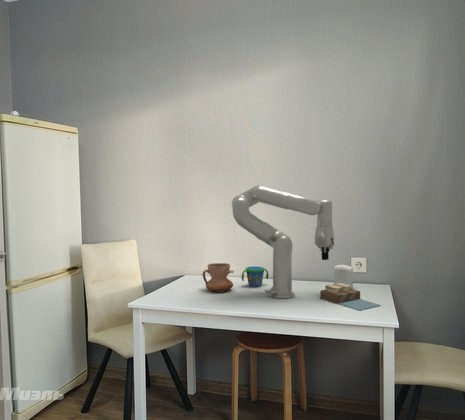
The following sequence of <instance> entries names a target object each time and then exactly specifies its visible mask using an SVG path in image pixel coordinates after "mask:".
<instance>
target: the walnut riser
mask: <svg viewBox="0 0 465 420" xmlns="http://www.w3.org/2000/svg"><path fill="white" fill-rule="evenodd" d="M319 293H320V294H319V295H320V300H323V301H327V302H330V303H333V304H335V305H340V304H339V303H343V302H348V301H352V300H357V299H361V291H359V290H356V289H354V288H352V289H350V291H345V292H340V293H333V292H329V291H326V290H325V289H322V290H320V291H319Z"/></svg>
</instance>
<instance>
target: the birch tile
mask: <svg viewBox="0 0 465 420" xmlns="http://www.w3.org/2000/svg"><path fill="white" fill-rule="evenodd" d="M324 290H326V291H329V292H333V293H340V292H345V291H350V285H346V284H342V283H337V284H334V283H331V284H326V285H325V288H324Z"/></svg>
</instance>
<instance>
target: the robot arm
mask: <svg viewBox="0 0 465 420" xmlns="http://www.w3.org/2000/svg"><path fill="white" fill-rule="evenodd" d="M258 203H261V204H265V205H269V206H273V207H275V208H280V209H284V210H289V211H290V210H291V211H293V212H298V213H302V214H305V215H309V216H316V226H315V227H316V228H315V233H314V244H315V246H316V247H317V248H319V250H320V252H321V260H322V261H327V260H329V253H330V250H334V246H335V232H334V231H335V230H334V227H333V202H332V200H330V199H319V200H316V199H315V200H314V199H311V198H308V197H307V198H306V197H304V196H303V197H302V196H299V195H297V194H293V193H290V192H288V191H284V190H280V189H276V188H272V187H270V186H266V185H255V186H253V187H251V188H249V189H248V190H247V189H246V191H243V192H242V193H240V194H238V195H236V196H235V197H233V198H232V200H231V208H232V215H233V219H234V220H235V222H236V224H238V225H239V227H241V228H242V229H244V230H245V231H247V232H248V233H250V234H251V235H253V236H254V237H255V238H257V240H259V241H262V242H263V243H265V244H266V245H268V246H269V247H271V248H272V252H273V253H272V282H273V283H272V286H271V288H269V289H266V290H264V292H265V294H267V295H268V294H269V296H270V297H272V298H276V299H290V298H291V299H292V298H294V297H295V296H296V293H295V292H294V291H293V288H292V287H293V276H292V275H293V274H292V273H293V269H292V267H293V265H292V264H293V263H292V259H293V242H292V241H293V240H292V238H291V237H290V236H288V234H285V233H284V232H282V231H281V230H279V229H278V228H276V227H275V226H273V225H271V223H268V222H267V221H264V220H262V219H261V218H258V216H256V215H255V214H254V213H252V212H251V211H250V208H251V207H253V206H255V205H257V204H258Z"/></svg>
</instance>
